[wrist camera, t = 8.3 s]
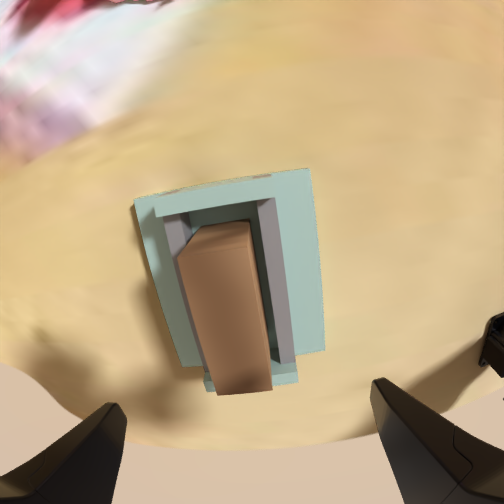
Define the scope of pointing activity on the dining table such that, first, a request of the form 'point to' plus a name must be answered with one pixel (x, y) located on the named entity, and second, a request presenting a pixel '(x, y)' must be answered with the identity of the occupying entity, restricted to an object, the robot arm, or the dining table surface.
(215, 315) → the brown wooden block
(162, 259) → the light blue tray
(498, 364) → the robot arm
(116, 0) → the candy landscape model
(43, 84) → the dining table surface
